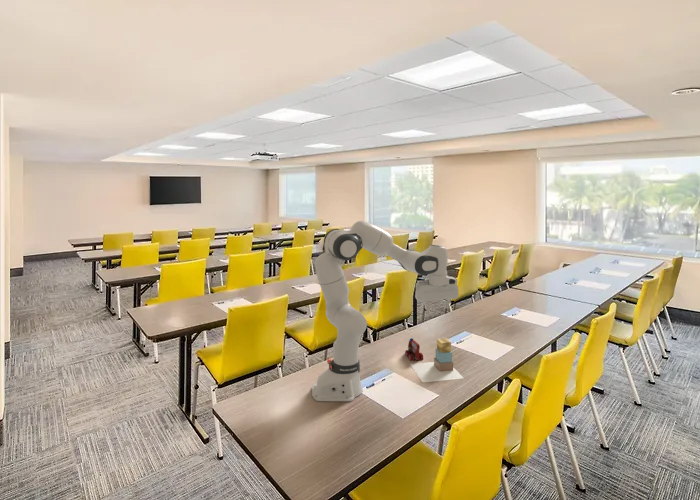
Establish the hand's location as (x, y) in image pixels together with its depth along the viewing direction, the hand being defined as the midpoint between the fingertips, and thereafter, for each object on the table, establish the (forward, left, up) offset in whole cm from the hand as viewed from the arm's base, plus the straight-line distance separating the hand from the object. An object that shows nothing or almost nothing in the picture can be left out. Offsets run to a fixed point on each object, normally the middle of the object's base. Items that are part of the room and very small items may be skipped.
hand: (436, 308), depth 180 cm
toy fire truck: (-4, +19, -33) cm, 38 cm away
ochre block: (+6, +4, -23) cm, 24 cm away
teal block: (+6, +4, -28) cm, 29 cm away
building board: (+1, +1, -33) cm, 33 cm away
